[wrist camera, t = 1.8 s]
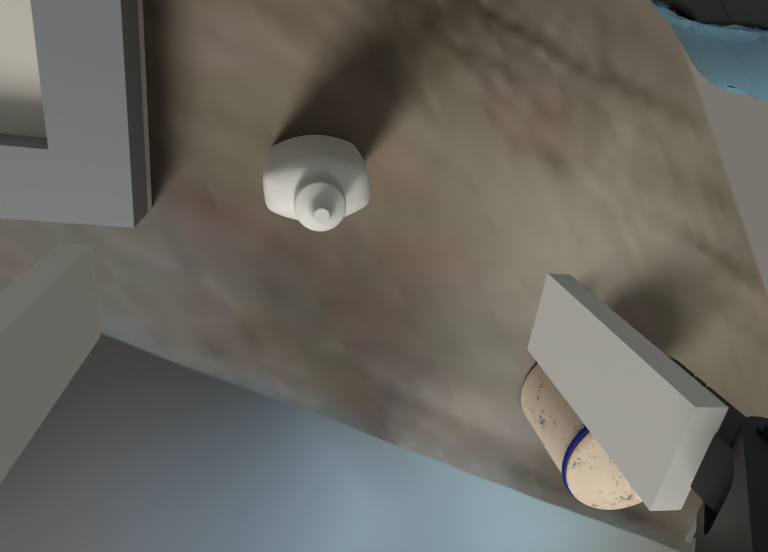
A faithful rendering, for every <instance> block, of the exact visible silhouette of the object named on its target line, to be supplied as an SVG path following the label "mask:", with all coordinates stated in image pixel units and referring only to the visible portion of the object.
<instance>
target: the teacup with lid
mask: <svg viewBox="0 0 768 552" xmlns="http://www.w3.org/2000/svg"><path fill="white" fill-rule="evenodd" d="M521 404H522V408H523V411H524V413H525V415H526V417H527V418H528V420H529V422H530V423H531V425H532V426H533V428H534V430H535V431H536V433H537V435H538V436H539V438H540V439H541V441H542V443H543V444H544V446H545V448H546V449H547V451H548V452H549V454H550V456H551V457H552V459H553V460H554V462H555V464H556V465H557V467H558V469H559V470H560V472H561V473H562V478H563V482H564V484H565V486H566V488H567V490H568V491H569V492H570V493H571V494H572V495H573V496H574V497H575V498H577V499H578V500H579V501H581V502H582V503H584V504H586V505H588V506H591V507H594V508H598V509H606V510H612V509H621V508H626V507H630V506H633V505H636V504H638V503H641V502H643V501H642V500H641V498H640V497H639V496H638V494H637V493H636V492H635V490H634V489H633V488H632V486H631V485H630V484H629V482H628V481H627V480H626V478H625V477H624V476H623V475H622V473H621V472H620V471H619V469H618V468H617V467H616V465H615V464H614V463H613V461H612V460H611V459H610V457H609V456H608V455H607V453H606V452H605V451H604V449H603V448H602V447H601V446H600V444H599V443H598V442H597V440H596V439H595V438H594V436H593V435H592V434H591V432H590V431H589V430H588V428H587V427H586V426H585V424H584V423H583V422H582V421H581V419H580V418H579V417H578V415H577V414H576V413H575V411H574V410H573V409H572V407H571V406H570V405H569V403H568V402H567V401H566V399H565V398H564V397H563V396H562V394H561V393H560V392H559V390H558V389H557V388H556V386H555V385H554V384H553V382H552V381H551V380H550V378H549V377H548V376H547V374H546V373H545V372H544V370H543V369H542V368H541V367H540V365H539V364H537V365H536V366H535V367H534V368H533V369H532V370H531V372H530V373H529V375H528V376H527V378H526V380H525V382H524V384H523V388H522V392H521Z"/></svg>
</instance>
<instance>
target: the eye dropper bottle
mask: <svg viewBox="0 0 768 552" xmlns="http://www.w3.org/2000/svg"><path fill="white" fill-rule="evenodd" d="M263 186H264V196H265V202H266V205H267V207H268V208H269V209H270V210H271V211H273V212H275V213H277V214H279V215H282V216H285V217H288V218H292V219H296V220H299V221H300V222H301V223H302V224H303V225H305V227H307V228H309V229H311V230H314V231H326V230H329V229H331V228H332V229H333V227H335V226H337V224H339V222H341V220H342V218H344V216H347V215H350V214H352V213H354V212H356V211H358V210H360V209H362V208H363V207H365V206H366V205H367V204H368V203H369V199H370V174H369V171H368V168H367V166H366V164H365V162H364V160H363V158H362V156H361V155H360V153H359V151H358V149H357V148H356V146H355V145H353V144H352V143H350V142H348V141H346V140H343V139H340V138H336V137H332V136H326V135H304V136H298V137H294V138H291V139H287V140H285V141H282V142H280V143H278V144H276V145H274V146H273V147H272V148H271V149H270V150H269V154H268V158H267V161H266V166H265V170H264V175H263Z"/></svg>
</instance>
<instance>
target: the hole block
mask: <svg viewBox="0 0 768 552" xmlns="http://www.w3.org/2000/svg"><path fill="white" fill-rule="evenodd" d="M151 208H152V196H151V174H150V152H149V130H148V108H147V86H146V64H145V42H144V20H143V0H0V218H5V219H19V220H33V221H47V222H61V223H75V224H89V225H103V226H117V227H131V228H134V227H135V226H136V225H137V224H138V223H139V222H140V221H141V220H142V218H143V217H144V216H145V215H146V214H147V213H148V212H149V211H150V210H151Z"/></svg>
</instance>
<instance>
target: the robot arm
mask: <svg viewBox="0 0 768 552" xmlns="http://www.w3.org/2000/svg"><path fill="white" fill-rule="evenodd" d="M651 2H652V3H653V5H654V8H655V9H656V10H657V11H658V13H659V14H660V15H661V16H663V17H664V18H665V19H666V20H668V22H669V23H670V25H671V27H672V28H673V30H674V32H675V33H676V35H677V37H678V38H679V40H680V42H681V44H682V45H683V47H684V49H685V51H686V53H687V54H688V56H689V58H690V60H691V62H692V63H693V65H694V66H695V67H696V69H697V70H698V71H699V72H700V73H701V74H702V75H703V76H704V77H705V78H706V79H708V80H709V81H710V82H712V83H713V84H715V85H716V86H718V87H720V88H722V89H724V90H728V91H731V92H735V93H741V94H742V93H743V94H747V95H749V96H751V97H753V98H755V99H757V100H761V101H767V102H768V0H651ZM99 338H100V326H99V316H98V306H97V296H96V286H95V276H94V266H93V256H92V246H87V245H71V244H59V245H58V246H56V247H55V248H54V249H53V250H52V251H50V252H49V253H48V254H47V255H46V256H44V257H43V258H42V259H41V260H40V261H38V262H37V263H36V264H35V265H34V266H32V267H31V268H30V269H29V270H28V271H26V272H25V273H24V274H23V275H22V276H20V277H19V278H18V279H17V280H15V281H14V282H13V283H12V284H11V285H9V286H8V287H7V288H6V289H5V290H3V291H2V292H1V293H0V483H1V482H2V480H3V479H4V477H5V476H6V474H7V473H8V471H9V470H10V468H11V467H12V466H13V464H14V463H15V461H16V460H17V458H18V457H19V455H20V454H21V452H22V451H23V449H24V448H25V446H26V445H27V444H28V442H29V441H30V439H31V438H32V436H33V435H34V433H35V432H36V430H37V429H38V427H39V426H40V424H41V423H42V422H43V420H44V419H45V417H46V416H47V414H48V413H49V411H50V410H51V408H52V407H53V405H54V404H55V402H56V401H57V399H58V398H59V397H60V395H61V394H62V392H63V391H64V389H65V388H66V386H67V385H68V383H69V382H70V380H71V379H72V377H73V376H74V374H75V373H76V372H77V370H78V368H79V367H80V366H81V364H82V363H83V361H84V360H85V358H86V357H87V355H88V354H89V352H90V351H91V349H92V348H93V347H94V345H95V344H96V342H97V341H98V339H99ZM527 349H528V351H529V352H530V353H531V355H532V356H533V357H534V359H535V360H536V361H537V363H538V364H539V365H540V367H541V368H542V369H543V370H544V372H545V373H546V374H547V376H548V377H549V378H550V380H551V381H552V382H553V384H554V385H555V386H556V388H557V389H558V390H559V392H560V393H561V394H562V396H563V397H564V398H565V399H566V401H567V402H568V403H569V405H570V406H571V407H572V409H573V410H574V411H575V413H576V414H577V415H578V417H579V418H580V419H581V421H582V422H583V423H584V424H585V426H586V427H587V428H588V430H589V431H590V432H591V434H592V435H593V436H594V438H595V439H596V440H597V442H598V443H599V444H600V446H601V447H602V448H603V449H604V451H605V452H606V453H607V455H608V456H609V457H610V459H611V460H612V461H613V463H614V464H615V465H616V467H617V468H618V469H619V471H620V472H621V473H622V475H623V476H624V477H625V478H626V480H627V481H628V482H629V484H630V485H631V486H632V488H633V489H634V490H635V492H636V493H637V494H638V496H639V497H640V498H641V500H642V501H643V502H644V503H645V505H646V506H647V507H648V509H649V510H650V511H661V510H681V508H682V506H683V504H684V502H685V500H686V498H687V496H688V494H689V491H690V489H691V488H692V489H693V490H694V491H695V492H696V493H697V495H698V496H699V497H700V498H701V499H702V500H703V503H702V505H701V507H700V509H699V511H698V513H697V515H696V517H695V519H694V521H693V523H692V526H691V528H690V530H689V532H688V534H687V536H686V538H685V540H684V541H686V542H688V543H690V542H691V541H692V539H693V538H694V537H696V545H695V552H768V419H767V418H763V417H755V416H750V417H745V416H744V415H743V414H742V413H740V412H739V411H738V410H737V409H736V408H734V407H733V406H732V405H731V404H730V403H728V402H727V401H726V400H725V399H724V398H722V397H721V396H720V395H719V394H717V393H716V392H715V391H714V390H713V389H711V388H710V387H706V384H705V383H704V382H703V381H702V380H701V379H699V378H698V377H694V374H693V373H692V372H691V371H690V370H688V369H687V368H686V367H685V366H684V365H682V364H681V363H680V362H678V361H677V360H675V359H673V358H671V357H669V356H667V355H666V354H664V353H663V352H662V351H661V350H659V349H658V348H657V347H656V346H655V345H653V344H652V343H651V342H650V341H649V340H647V339H646V338H645V337H644V336H643V335H642V334H640V333H639V332H638V331H637V330H636V329H634V328H633V327H632V326H631V325H630V324H628V323H627V322H626V321H625V320H624V319H622V318H621V317H620V316H619V315H618V314H616V313H615V312H614V311H613V310H612V309H610V308H609V307H608V306H607V305H606V304H604V303H603V302H602V301H601V300H600V299H598V298H597V297H596V296H595V295H594V294H593V293H591V292H590V291H589V290H588V289H587V288H585V287H584V286H583V285H582V284H581V283H579V282H578V281H577V280H576V279H575V278H573V277H572V276H571V275H567V274H550V273H548V274H547V278H546V281H545V285H544V289H543V293H542V296H541V300H540V304H539V307H538V311H537V315H536V318H535V322H534V326H533V330H532V333H531V337H530V341H529V344H528V348H527Z"/></svg>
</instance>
